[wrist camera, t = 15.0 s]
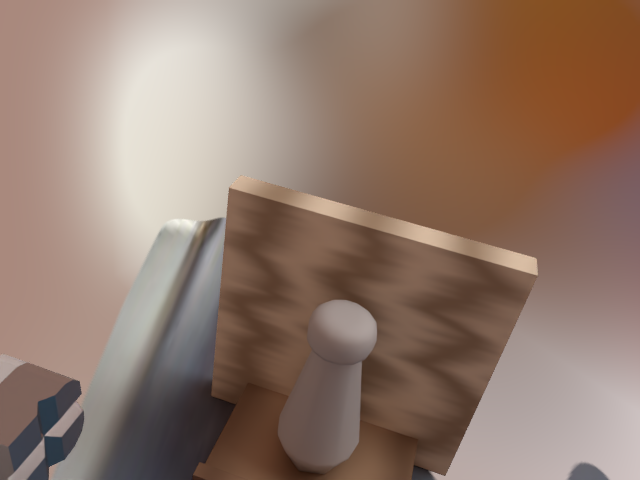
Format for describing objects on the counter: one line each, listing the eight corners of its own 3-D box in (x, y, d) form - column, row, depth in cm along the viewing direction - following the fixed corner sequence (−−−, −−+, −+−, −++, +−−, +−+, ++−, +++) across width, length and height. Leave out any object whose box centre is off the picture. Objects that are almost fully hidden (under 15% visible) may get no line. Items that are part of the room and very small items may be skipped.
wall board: (447, 455, 47) (536, 258, 36) (445, 475, 46) (537, 275, 35) (220, 379, 50) (240, 175, 39) (211, 395, 48) (229, 187, 38)
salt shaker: (368, 453, 43) (411, 321, 36) (317, 502, 39) (354, 365, 32) (310, 405, 45) (339, 274, 38) (257, 446, 42) (279, 309, 34)
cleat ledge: (408, 463, 46) (422, 426, 44) (387, 587, 38) (403, 551, 35) (244, 407, 48) (249, 369, 46) (190, 514, 40) (192, 474, 37)
